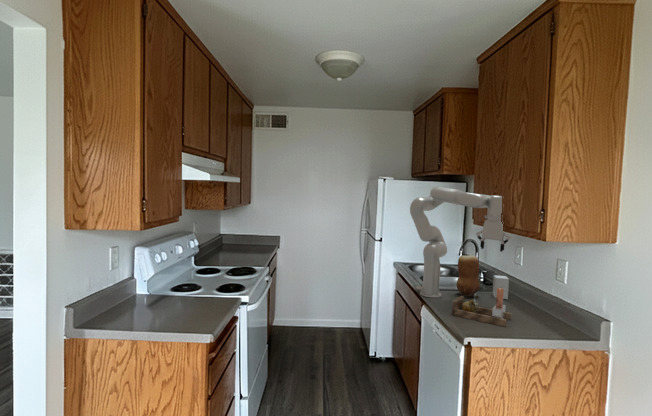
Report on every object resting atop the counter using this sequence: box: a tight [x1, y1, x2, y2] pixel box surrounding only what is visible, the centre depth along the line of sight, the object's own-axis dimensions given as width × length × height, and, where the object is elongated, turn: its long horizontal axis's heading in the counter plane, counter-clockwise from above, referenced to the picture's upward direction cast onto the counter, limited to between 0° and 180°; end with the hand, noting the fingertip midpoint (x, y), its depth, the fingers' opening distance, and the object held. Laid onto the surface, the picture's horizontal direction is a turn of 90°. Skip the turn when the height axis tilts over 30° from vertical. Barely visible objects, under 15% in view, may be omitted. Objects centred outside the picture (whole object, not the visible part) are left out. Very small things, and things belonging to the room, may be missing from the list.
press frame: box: [451, 295, 512, 328], centre depth 190 cm, size 25×14×7 cm, turn 55°
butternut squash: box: [456, 254, 481, 298], centre depth 228 cm, size 14×13×25 cm
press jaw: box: [492, 288, 506, 319], centre depth 185 cm, size 4×10×15 cm, turn 145°
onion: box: [461, 299, 479, 313], centre depth 193 cm, size 8×8×8 cm
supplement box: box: [492, 274, 510, 300], centre depth 229 cm, size 7×7×13 cm
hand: (491, 250), depth 204 cm, fingers open, 9 cm apart
